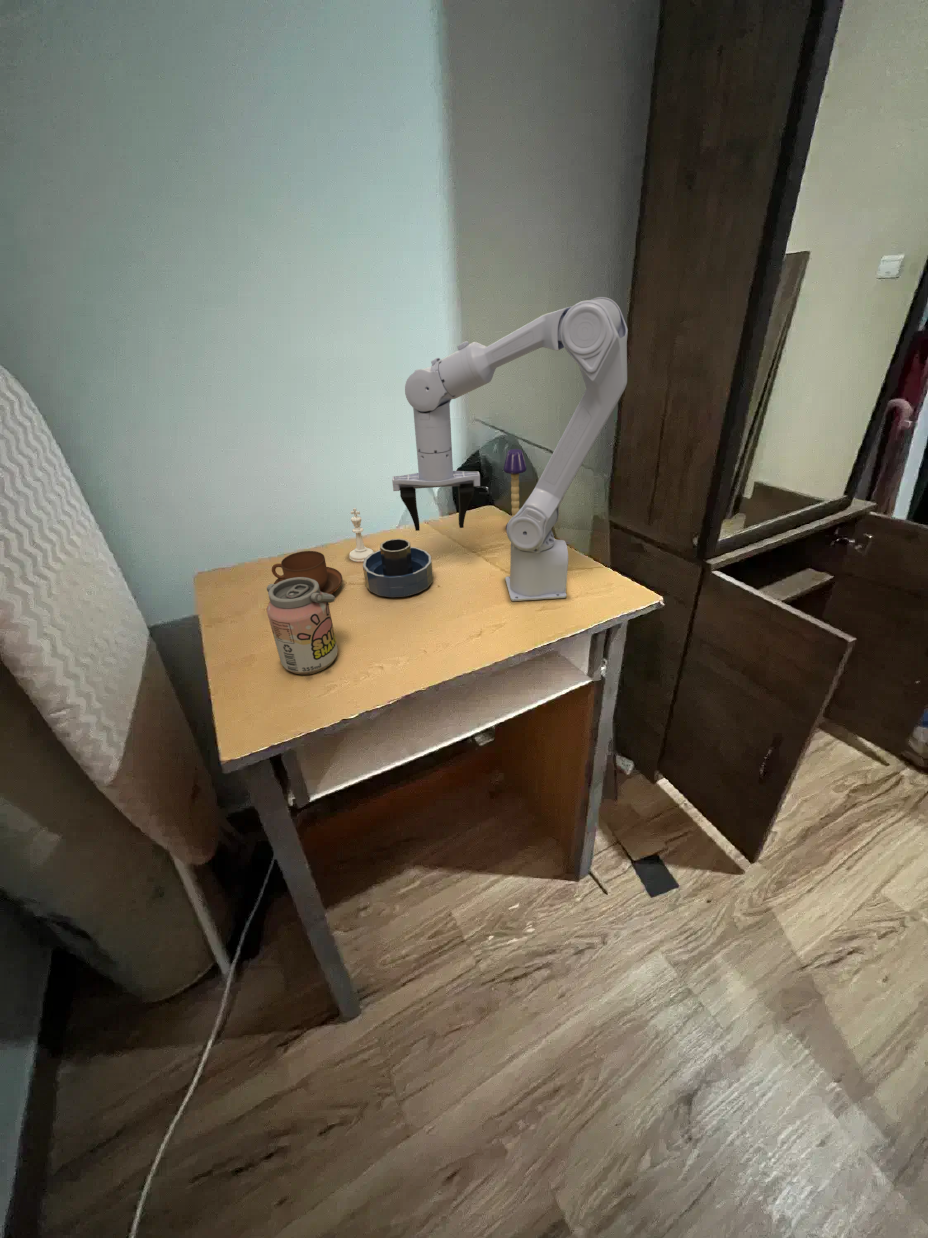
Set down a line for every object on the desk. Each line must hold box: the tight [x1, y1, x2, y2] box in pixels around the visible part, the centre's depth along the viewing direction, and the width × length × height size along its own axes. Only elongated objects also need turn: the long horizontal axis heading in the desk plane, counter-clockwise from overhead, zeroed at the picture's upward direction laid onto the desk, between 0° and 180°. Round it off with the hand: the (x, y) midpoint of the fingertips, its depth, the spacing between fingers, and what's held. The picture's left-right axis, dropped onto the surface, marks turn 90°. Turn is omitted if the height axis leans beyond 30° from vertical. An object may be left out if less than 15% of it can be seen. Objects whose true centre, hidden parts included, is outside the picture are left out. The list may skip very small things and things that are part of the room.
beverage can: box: [266, 577, 339, 676], centre depth 74 cm, size 9×8×12 cm
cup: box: [379, 538, 413, 576], centre depth 93 cm, size 5×5×7 cm
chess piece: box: [348, 507, 375, 563], centre depth 102 cm, size 5×5×10 cm
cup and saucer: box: [271, 550, 343, 595], centre depth 92 cm, size 12×12×6 cm
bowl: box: [362, 546, 434, 598], centre depth 94 cm, size 12×12×4 cm
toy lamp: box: [503, 448, 527, 531], centre depth 110 cm, size 5×5×17 cm
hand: (439, 527), depth 93 cm, fingers open, 7 cm apart
